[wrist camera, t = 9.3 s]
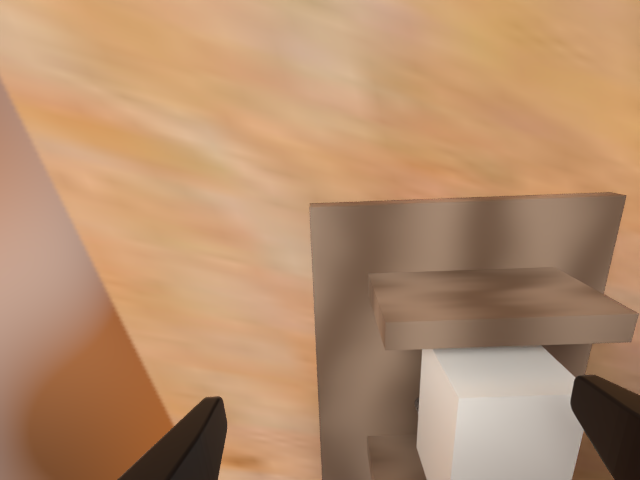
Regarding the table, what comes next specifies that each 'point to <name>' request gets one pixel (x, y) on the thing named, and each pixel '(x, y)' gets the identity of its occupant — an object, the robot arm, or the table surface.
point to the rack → (447, 304)
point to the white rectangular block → (496, 415)
